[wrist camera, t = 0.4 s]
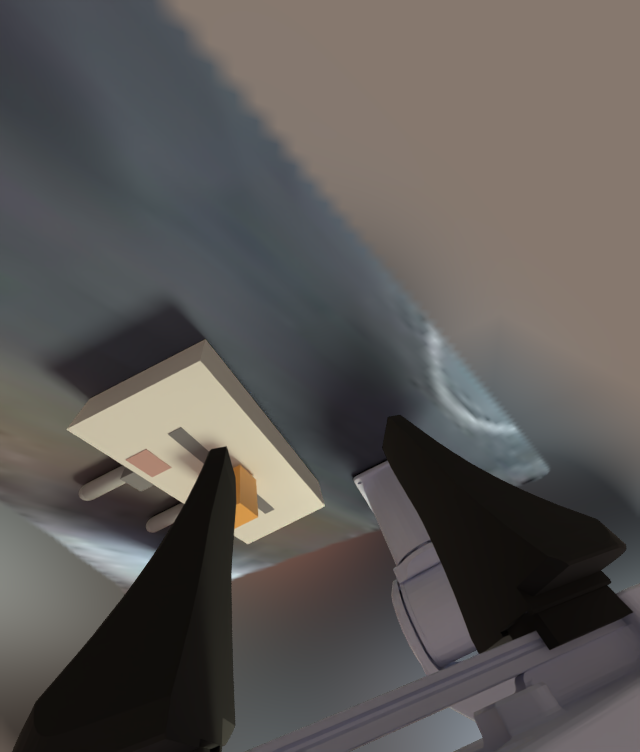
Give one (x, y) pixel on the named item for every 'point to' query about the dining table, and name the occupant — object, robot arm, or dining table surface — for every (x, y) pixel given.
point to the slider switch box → (199, 435)
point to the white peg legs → (136, 481)
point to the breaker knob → (245, 497)
